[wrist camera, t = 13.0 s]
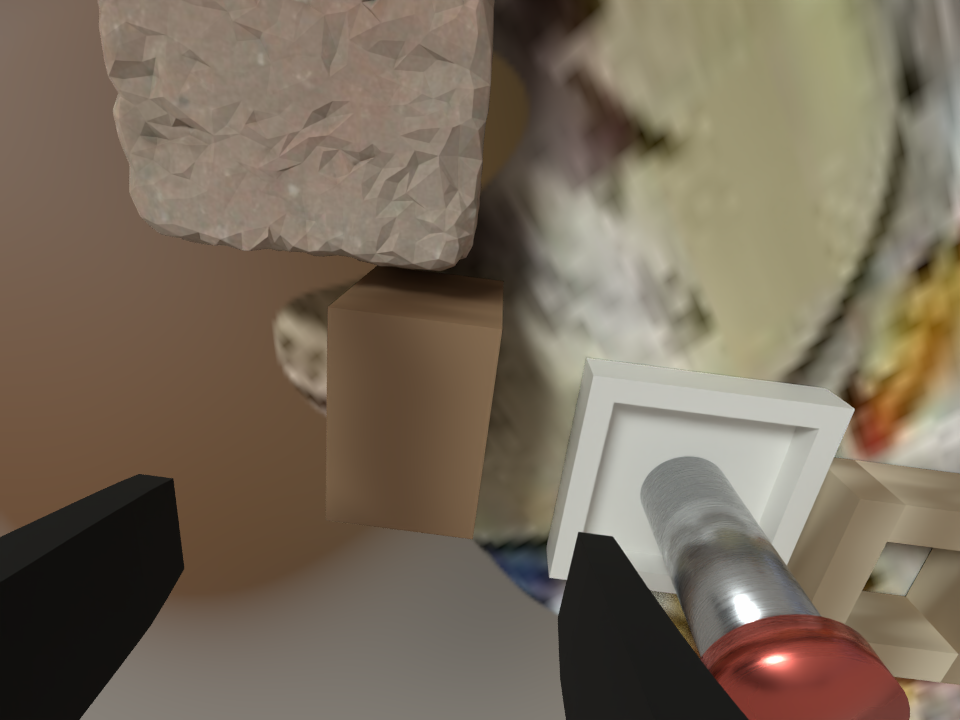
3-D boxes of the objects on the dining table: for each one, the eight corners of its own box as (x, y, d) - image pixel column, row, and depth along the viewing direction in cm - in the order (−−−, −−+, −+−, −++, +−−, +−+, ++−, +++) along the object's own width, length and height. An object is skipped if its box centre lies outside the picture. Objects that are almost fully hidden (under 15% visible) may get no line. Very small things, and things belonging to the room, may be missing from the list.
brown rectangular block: (503, 280, 16) (502, 329, 12) (481, 443, 19) (472, 539, 14) (378, 264, 16) (327, 307, 12) (371, 429, 19) (325, 520, 14)
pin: (766, 471, 18) (954, 700, 10) (699, 553, 19) (822, 806, 12) (666, 425, 17) (787, 629, 10) (605, 512, 19) (670, 749, 11)
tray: (826, 388, 17) (854, 409, 16) (750, 574, 20) (769, 605, 19) (586, 357, 17) (593, 375, 16) (546, 548, 20) (549, 577, 19)
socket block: (1013, 480, 18) (1089, 528, 16) (925, 627, 20) (979, 687, 18) (814, 454, 18) (860, 499, 16) (751, 605, 20) (783, 662, 18)
